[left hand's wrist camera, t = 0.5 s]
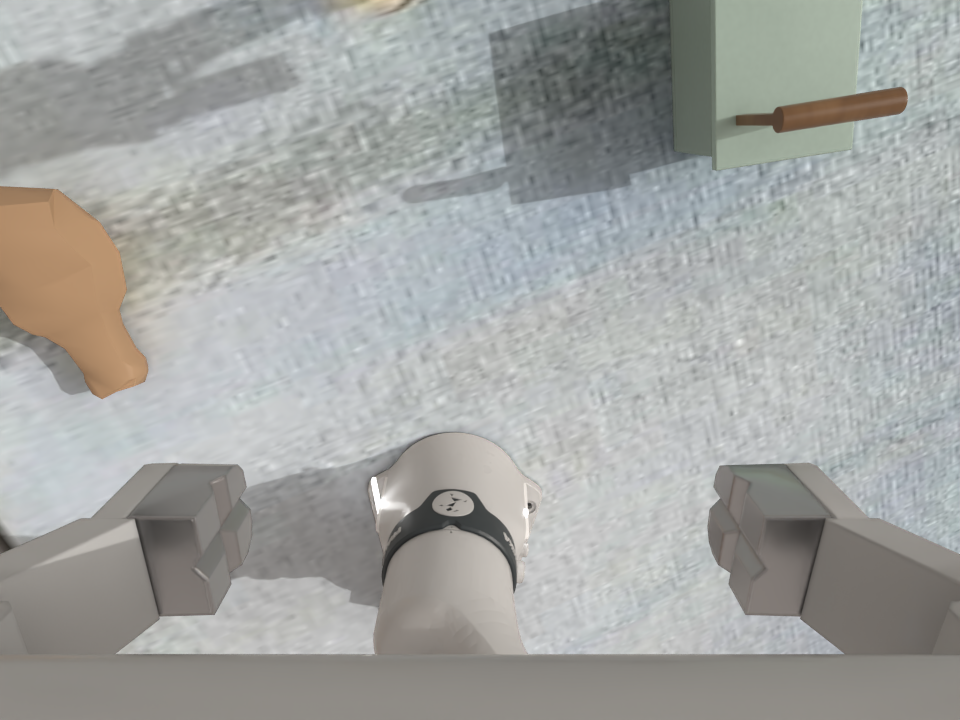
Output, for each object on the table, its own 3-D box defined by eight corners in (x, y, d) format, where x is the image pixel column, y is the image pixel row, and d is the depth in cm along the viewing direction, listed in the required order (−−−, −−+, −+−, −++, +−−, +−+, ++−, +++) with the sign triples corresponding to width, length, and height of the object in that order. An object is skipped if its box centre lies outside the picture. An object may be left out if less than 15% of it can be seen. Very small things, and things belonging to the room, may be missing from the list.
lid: (845, 149, 44) (924, 154, 36) (711, 170, 44) (760, 179, 37) (861, -77, 39) (955, -127, 31) (709, -51, 39) (765, -93, 32)
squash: (89, 159, 53) (44, 175, 45) (193, 352, 62) (172, 394, 54) (-34, 193, 52) (-102, 216, 44) (90, 384, 62) (53, 431, 54)
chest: (786, 133, 52) (846, 135, 43) (673, 151, 53) (711, 156, 44) (792, -41, 47) (860, -77, 39) (668, -19, 48) (709, -50, 39)
